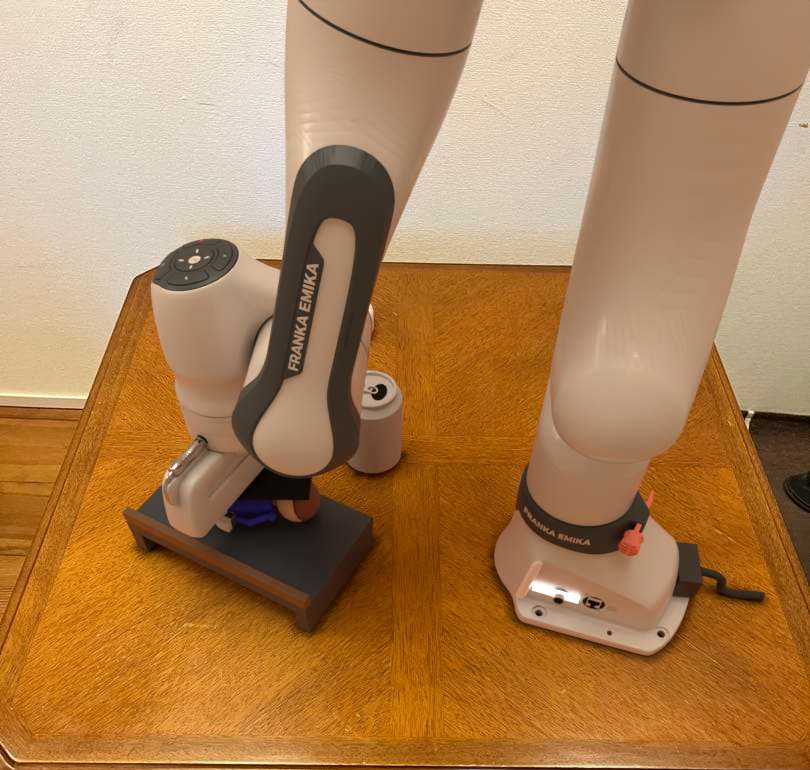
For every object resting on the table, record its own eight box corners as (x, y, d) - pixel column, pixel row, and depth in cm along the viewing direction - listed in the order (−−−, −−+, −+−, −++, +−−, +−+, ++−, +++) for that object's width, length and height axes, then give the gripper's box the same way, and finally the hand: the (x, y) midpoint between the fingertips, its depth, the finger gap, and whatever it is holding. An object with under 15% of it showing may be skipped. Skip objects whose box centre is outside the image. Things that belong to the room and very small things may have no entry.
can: (394, 482, 93) (395, 413, 84) (337, 472, 94) (331, 403, 84) (406, 440, 98) (408, 370, 88) (351, 431, 99) (347, 361, 89)
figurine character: (190, 542, 83) (321, 536, 82) (166, 500, 77) (307, 492, 76) (200, 496, 87) (326, 489, 86) (178, 452, 81) (313, 444, 80)
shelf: (373, 542, 88) (372, 508, 83) (310, 633, 81) (304, 602, 75) (210, 468, 94) (199, 432, 89) (138, 546, 87) (121, 512, 82)
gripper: (188, 493, 64) (217, 578, 75) (314, 357, 75) (323, 449, 86) (131, 466, 66) (168, 554, 77) (262, 337, 77) (278, 430, 88)
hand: (251, 498), depth 82 cm, fingers closed on figurine character, 7 cm apart
